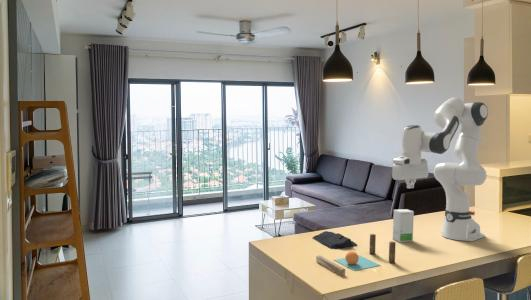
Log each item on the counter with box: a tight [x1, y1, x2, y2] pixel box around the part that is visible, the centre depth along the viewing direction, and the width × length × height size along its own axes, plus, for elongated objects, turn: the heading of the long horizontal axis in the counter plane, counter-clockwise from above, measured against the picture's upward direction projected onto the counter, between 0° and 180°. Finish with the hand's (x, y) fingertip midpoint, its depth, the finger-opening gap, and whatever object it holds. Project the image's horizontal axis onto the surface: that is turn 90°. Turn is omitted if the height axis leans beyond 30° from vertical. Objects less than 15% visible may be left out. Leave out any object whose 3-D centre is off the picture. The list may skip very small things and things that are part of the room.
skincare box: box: [392, 208, 415, 243], centre depth 214 cm, size 8×7×16 cm
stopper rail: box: [315, 255, 346, 277], centre depth 175 cm, size 2×18×2 cm, turn 26°
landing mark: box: [333, 254, 381, 272], centre depth 181 cm, size 14×14×1 cm
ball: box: [344, 250, 359, 265], centre depth 179 cm, size 6×6×6 cm
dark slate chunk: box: [312, 230, 358, 250], centre depth 211 cm, size 15×22×5 cm
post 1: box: [369, 233, 377, 256], centre depth 193 cm, size 3×3×9 cm
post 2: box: [388, 241, 397, 265], centre depth 182 cm, size 3×3×9 cm
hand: (410, 188), depth 200 cm, fingers closed
